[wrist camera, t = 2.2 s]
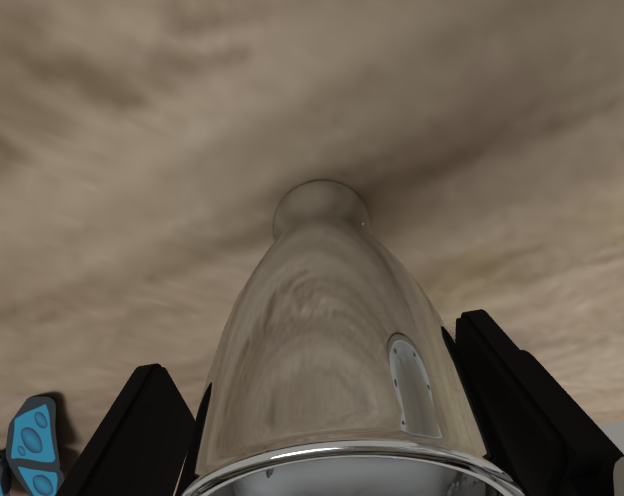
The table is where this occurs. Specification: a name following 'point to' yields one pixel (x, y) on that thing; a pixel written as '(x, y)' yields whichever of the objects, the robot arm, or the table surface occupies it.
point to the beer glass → (339, 375)
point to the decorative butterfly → (32, 450)
